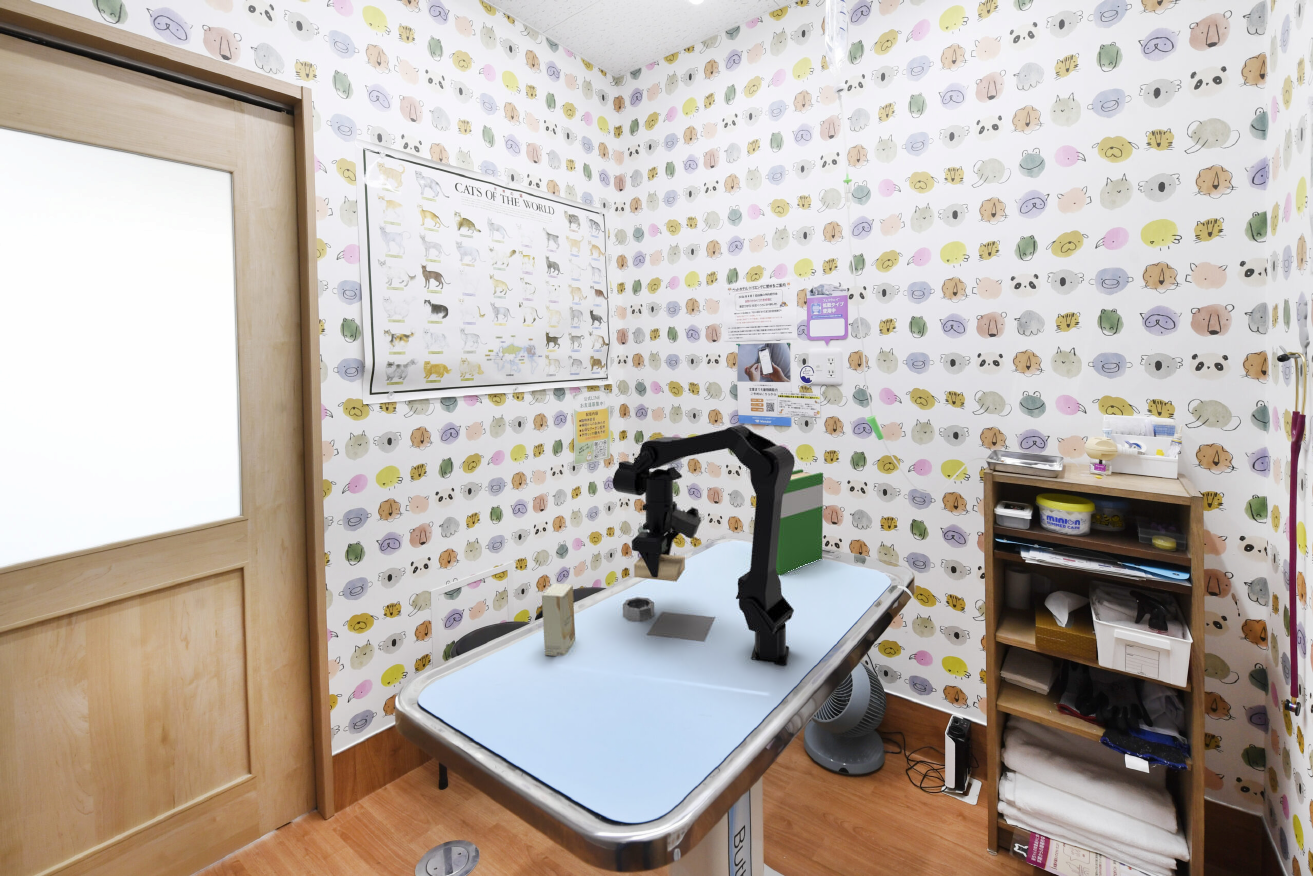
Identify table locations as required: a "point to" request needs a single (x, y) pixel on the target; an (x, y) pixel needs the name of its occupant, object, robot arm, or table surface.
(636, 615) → the bowl
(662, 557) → the lid
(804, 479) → the hardback book
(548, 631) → the skincare box
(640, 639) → the table surface
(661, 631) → the mat
